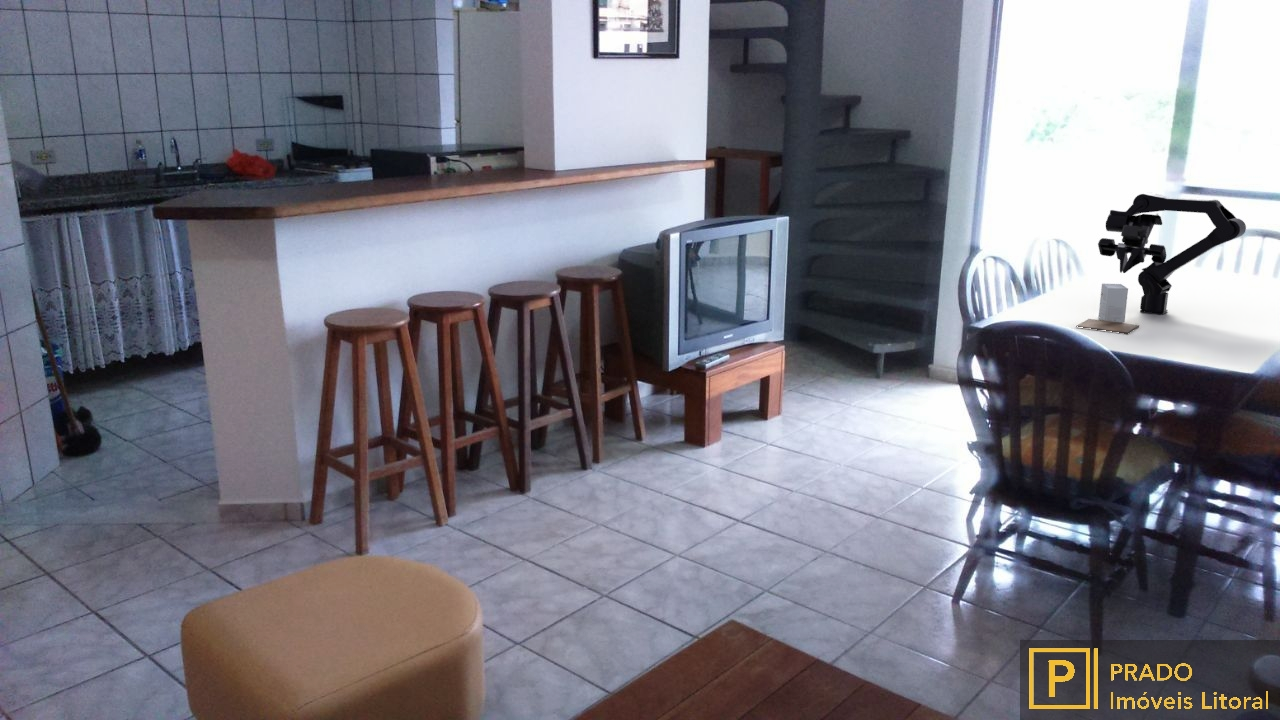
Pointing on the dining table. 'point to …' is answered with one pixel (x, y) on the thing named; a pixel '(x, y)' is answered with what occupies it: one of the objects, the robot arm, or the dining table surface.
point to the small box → (1113, 302)
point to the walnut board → (1108, 326)
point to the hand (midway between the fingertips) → (1122, 272)
